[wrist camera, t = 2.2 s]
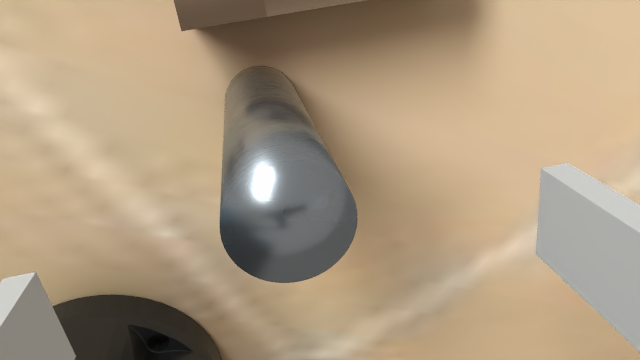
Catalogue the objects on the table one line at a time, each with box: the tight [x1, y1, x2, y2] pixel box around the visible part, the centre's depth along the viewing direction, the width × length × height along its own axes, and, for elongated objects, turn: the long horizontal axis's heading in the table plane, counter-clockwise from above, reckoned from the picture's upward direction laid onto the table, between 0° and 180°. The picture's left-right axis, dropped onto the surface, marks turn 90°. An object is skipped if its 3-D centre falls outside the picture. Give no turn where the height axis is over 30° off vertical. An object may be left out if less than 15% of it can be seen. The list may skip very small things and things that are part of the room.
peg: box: [220, 66, 357, 283], centre depth 21 cm, size 4×4×15 cm
